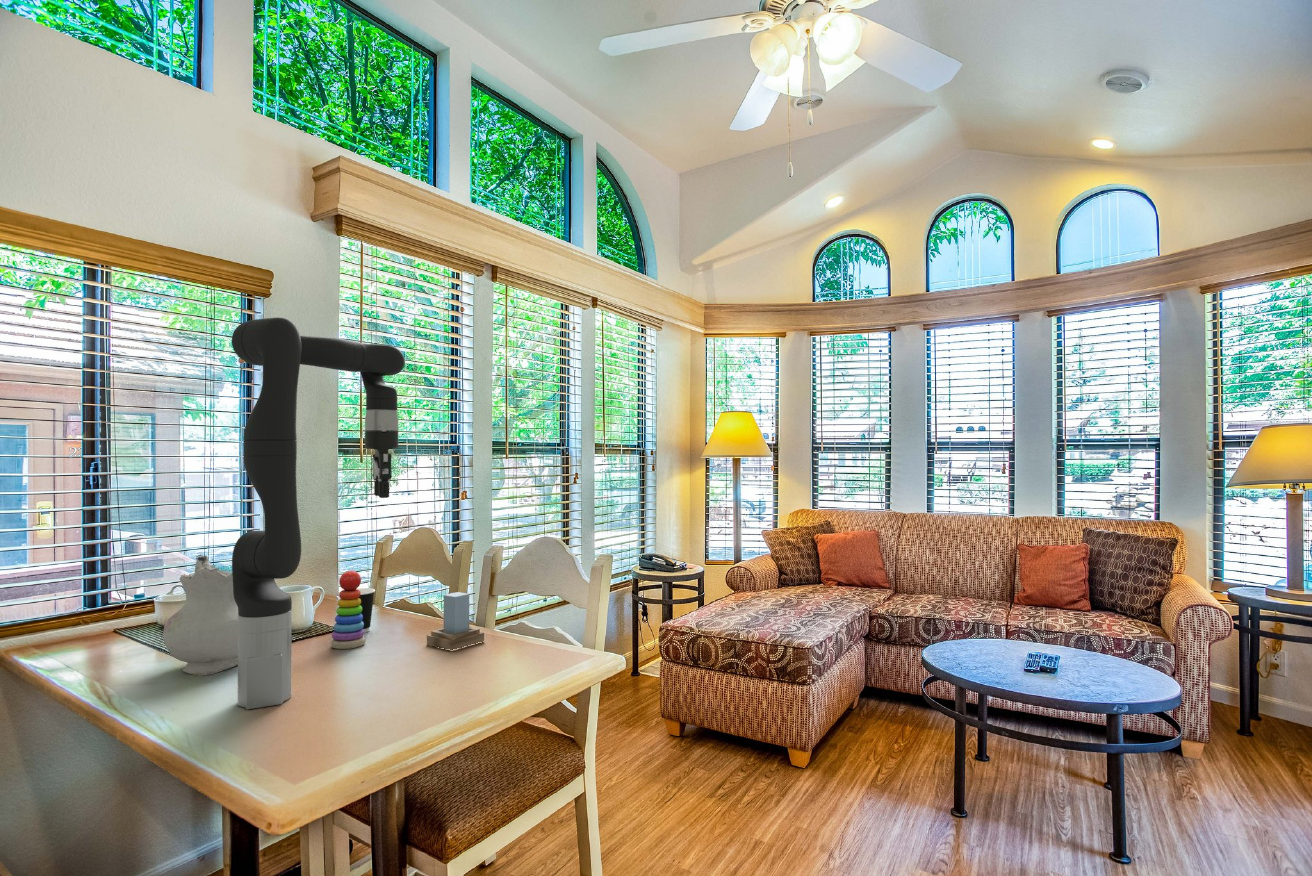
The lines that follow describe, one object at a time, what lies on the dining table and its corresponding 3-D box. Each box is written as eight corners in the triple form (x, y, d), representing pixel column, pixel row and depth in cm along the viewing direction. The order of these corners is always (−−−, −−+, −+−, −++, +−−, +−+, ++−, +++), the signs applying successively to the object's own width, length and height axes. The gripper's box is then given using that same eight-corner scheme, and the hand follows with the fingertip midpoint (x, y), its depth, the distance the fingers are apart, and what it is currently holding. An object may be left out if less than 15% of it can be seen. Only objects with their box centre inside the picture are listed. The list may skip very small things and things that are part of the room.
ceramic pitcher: (142, 674, 156) (133, 565, 155) (229, 646, 173) (222, 547, 172) (197, 690, 146) (188, 573, 145) (284, 658, 163) (277, 553, 162)
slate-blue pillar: (469, 633, 177) (469, 594, 177) (454, 637, 173) (454, 597, 173) (457, 630, 179) (457, 591, 179) (443, 634, 175) (443, 594, 176)
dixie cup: (377, 626, 194) (377, 587, 194) (372, 633, 186) (373, 592, 186) (346, 628, 192) (346, 588, 192) (341, 636, 184) (341, 594, 184)
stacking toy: (356, 650, 171) (357, 574, 171) (324, 650, 171) (325, 574, 171) (370, 641, 179) (371, 568, 179) (340, 641, 179) (340, 568, 179)
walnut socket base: (484, 642, 177) (484, 628, 177) (451, 651, 169) (451, 637, 169) (459, 636, 183) (459, 623, 183) (426, 645, 175) (426, 631, 175)
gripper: (361, 430, 171) (361, 495, 171) (368, 428, 158) (368, 499, 158) (393, 430, 175) (393, 494, 174) (402, 428, 162) (402, 497, 162)
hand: (381, 496), depth 166 cm, fingers open, 8 cm apart
